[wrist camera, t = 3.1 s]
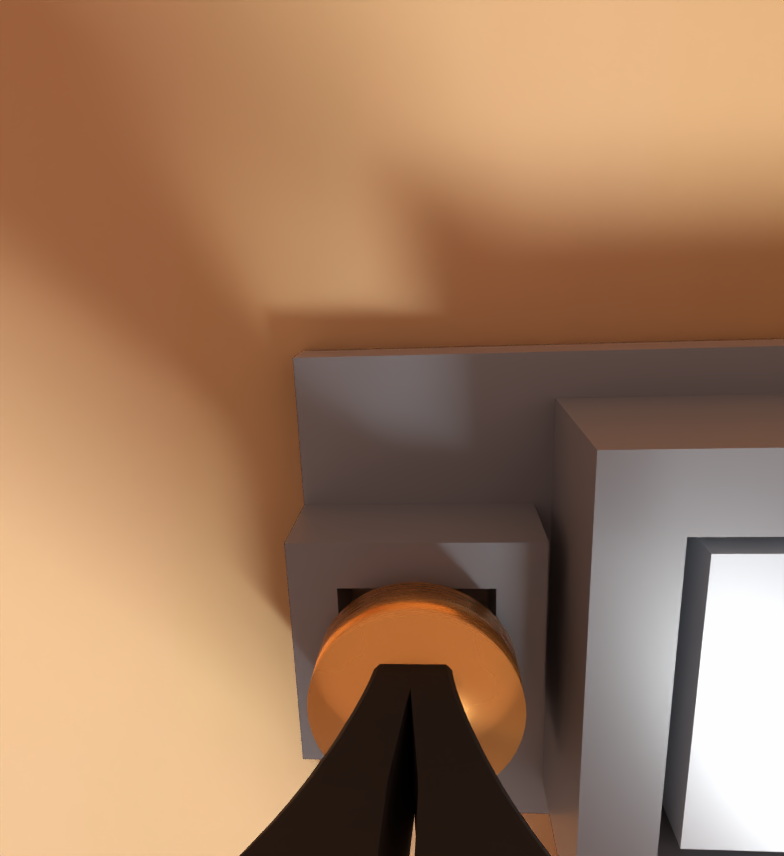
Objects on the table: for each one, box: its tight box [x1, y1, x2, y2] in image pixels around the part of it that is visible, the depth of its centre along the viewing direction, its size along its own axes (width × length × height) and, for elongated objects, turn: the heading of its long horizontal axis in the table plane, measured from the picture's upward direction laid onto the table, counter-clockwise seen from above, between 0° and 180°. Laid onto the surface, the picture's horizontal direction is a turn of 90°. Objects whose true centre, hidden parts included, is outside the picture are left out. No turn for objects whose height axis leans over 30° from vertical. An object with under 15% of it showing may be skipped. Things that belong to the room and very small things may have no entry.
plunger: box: [307, 582, 526, 775], centre depth 13 cm, size 4×4×3 cm
